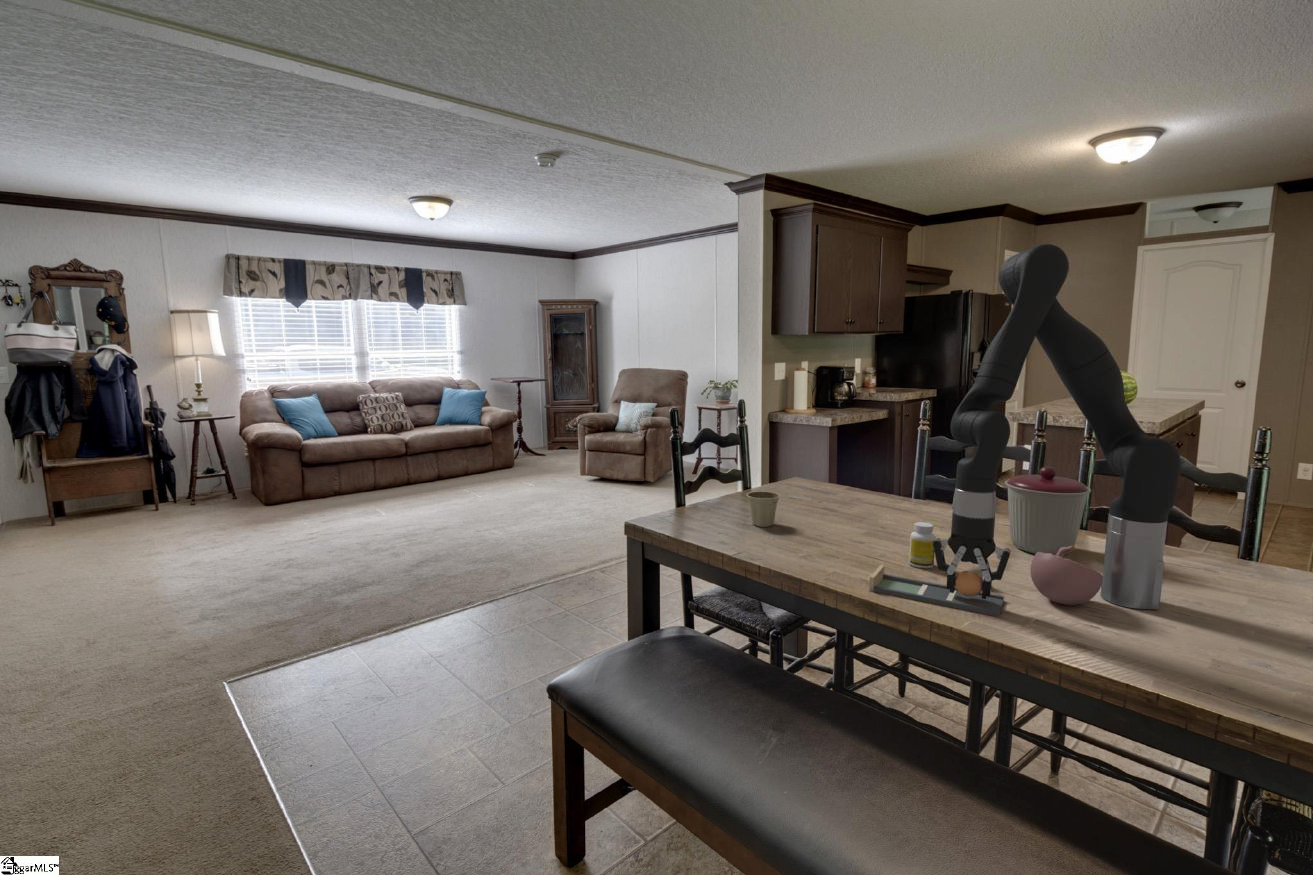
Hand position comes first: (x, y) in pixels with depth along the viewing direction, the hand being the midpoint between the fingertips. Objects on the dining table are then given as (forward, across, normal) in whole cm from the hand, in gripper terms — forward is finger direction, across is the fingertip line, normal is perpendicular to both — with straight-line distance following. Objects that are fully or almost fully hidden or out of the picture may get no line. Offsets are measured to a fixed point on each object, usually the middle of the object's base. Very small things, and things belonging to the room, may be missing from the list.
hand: (967, 594), depth 127 cm
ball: (-2, 0, 0) cm, 2 cm away
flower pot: (+2, +57, -30) cm, 64 cm away
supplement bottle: (+2, +12, -18) cm, 22 cm away
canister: (+2, -11, -46) cm, 47 cm away
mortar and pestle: (+2, -16, -10) cm, 19 cm away
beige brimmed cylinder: (+2, 0, -11) cm, 11 cm away
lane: (+2, +6, 0) cm, 6 cm away
